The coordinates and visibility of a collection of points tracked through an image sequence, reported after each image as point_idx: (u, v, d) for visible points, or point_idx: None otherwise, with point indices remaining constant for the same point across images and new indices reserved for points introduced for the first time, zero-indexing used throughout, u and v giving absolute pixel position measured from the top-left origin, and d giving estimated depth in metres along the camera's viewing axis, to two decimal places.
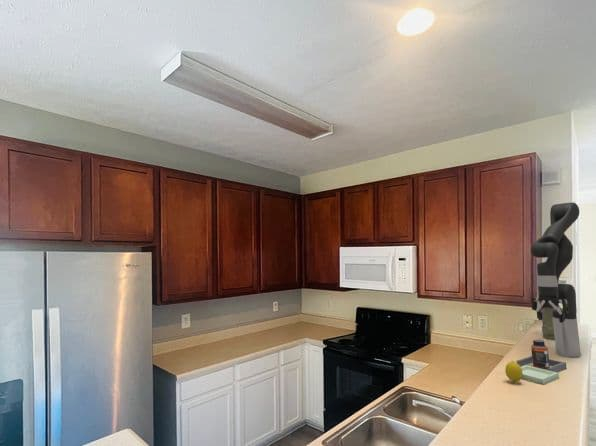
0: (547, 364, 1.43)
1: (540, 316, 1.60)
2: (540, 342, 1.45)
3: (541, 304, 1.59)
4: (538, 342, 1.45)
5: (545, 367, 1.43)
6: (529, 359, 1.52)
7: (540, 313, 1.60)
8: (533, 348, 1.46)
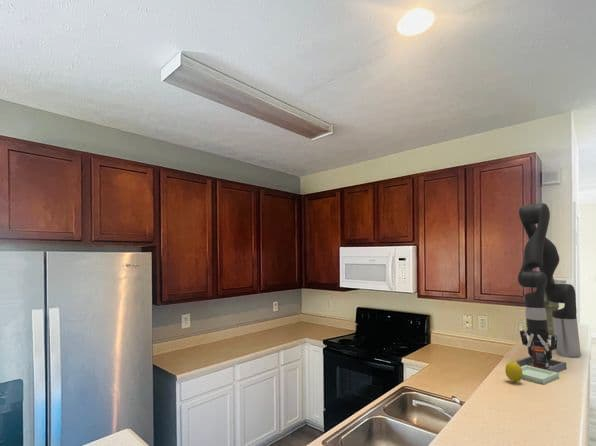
0: (547, 364, 1.43)
1: (531, 352, 1.49)
2: (540, 342, 1.45)
3: (530, 338, 1.48)
4: (538, 342, 1.45)
5: (545, 367, 1.43)
6: (529, 359, 1.52)
7: None
8: (533, 348, 1.46)
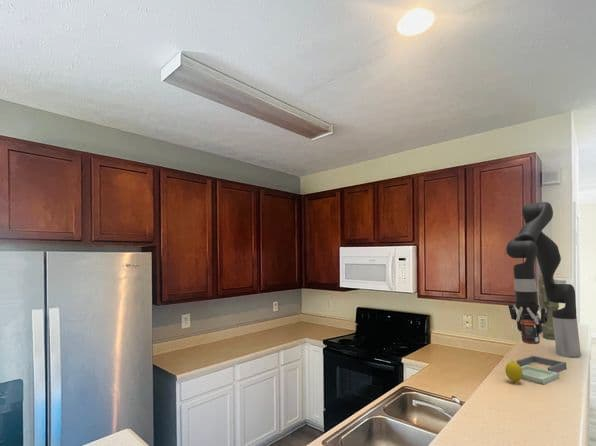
0: (537, 338, 1.34)
1: None
2: (529, 315, 1.36)
3: (520, 312, 1.39)
4: (527, 315, 1.36)
5: (535, 342, 1.34)
6: (529, 359, 1.52)
7: None
8: (522, 322, 1.37)
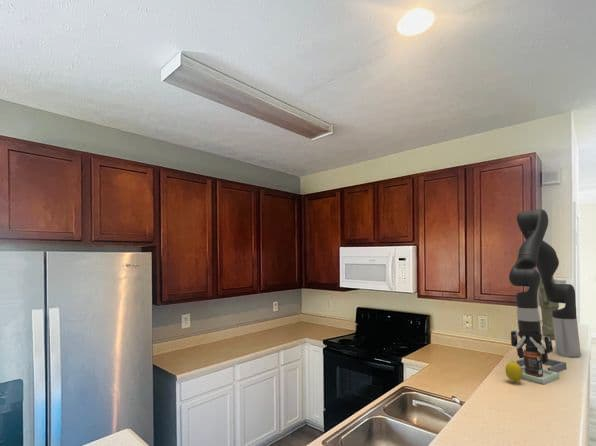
0: (540, 371, 1.33)
1: (521, 354, 1.39)
2: (533, 347, 1.35)
3: (521, 340, 1.38)
4: (531, 347, 1.35)
5: (538, 374, 1.33)
6: None
7: (521, 350, 1.40)
8: (525, 354, 1.36)
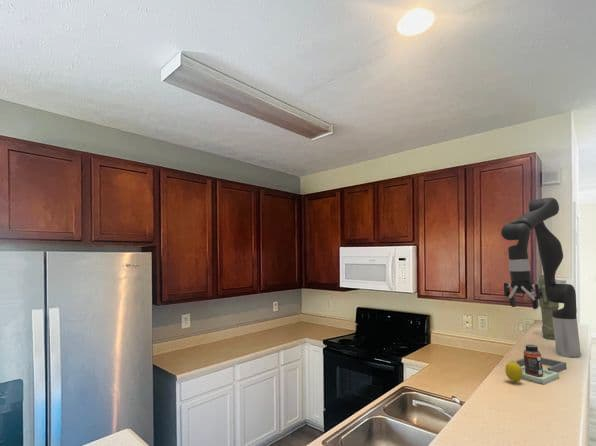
0: (540, 371, 1.33)
1: (513, 303, 1.49)
2: (533, 347, 1.35)
3: (514, 290, 1.48)
4: (531, 347, 1.35)
5: (538, 374, 1.33)
6: None
7: (513, 299, 1.50)
8: (525, 354, 1.36)
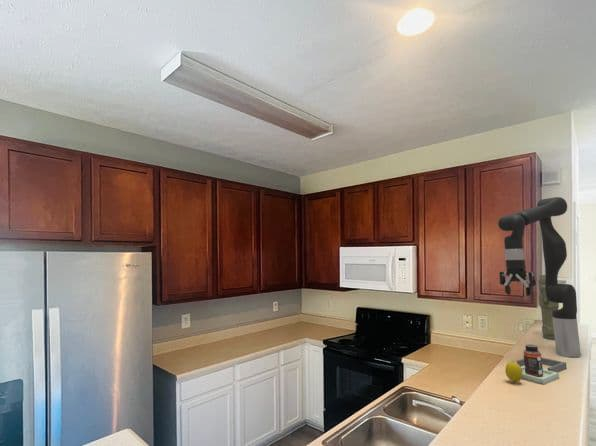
0: (540, 371, 1.33)
1: (508, 290, 1.57)
2: (533, 347, 1.35)
3: (509, 278, 1.55)
4: (531, 347, 1.35)
5: (538, 374, 1.33)
6: None
7: (508, 287, 1.57)
8: (525, 354, 1.36)
